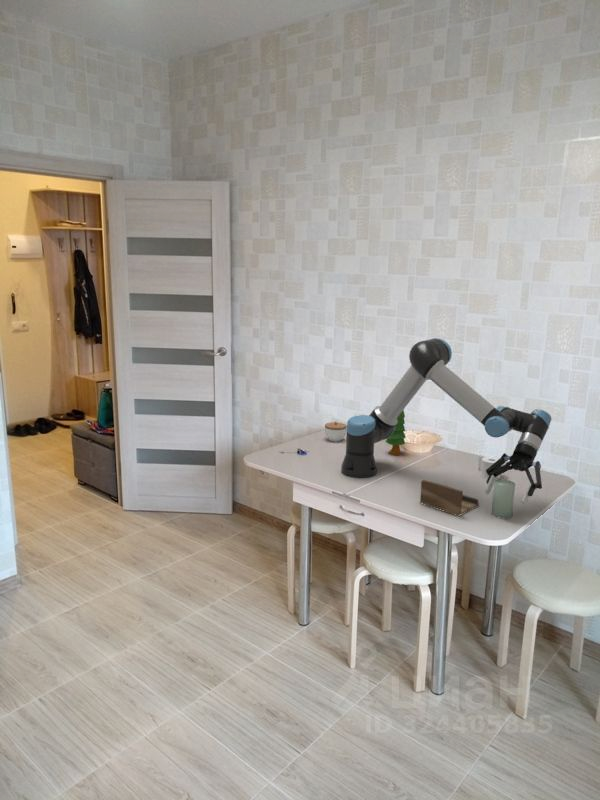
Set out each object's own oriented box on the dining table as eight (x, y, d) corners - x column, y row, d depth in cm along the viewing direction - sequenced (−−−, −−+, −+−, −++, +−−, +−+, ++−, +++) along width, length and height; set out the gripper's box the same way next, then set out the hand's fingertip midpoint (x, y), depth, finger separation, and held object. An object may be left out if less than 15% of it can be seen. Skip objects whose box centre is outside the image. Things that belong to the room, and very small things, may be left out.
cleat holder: (440, 494, 236) (442, 471, 234) (478, 505, 225) (480, 482, 223) (420, 503, 226) (421, 480, 224) (458, 516, 215) (460, 491, 213)
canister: (496, 519, 213) (499, 486, 211) (488, 511, 220) (491, 479, 217) (515, 518, 214) (518, 486, 211) (506, 510, 221) (509, 479, 218)
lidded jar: (346, 443, 301) (347, 424, 299) (325, 442, 301) (325, 424, 299) (344, 437, 312) (345, 419, 310) (323, 436, 311) (324, 418, 309)
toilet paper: (478, 469, 266) (480, 454, 264) (503, 475, 259) (505, 459, 257) (470, 474, 260) (471, 458, 258) (495, 480, 252) (497, 464, 251)
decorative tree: (392, 457, 281) (396, 392, 274) (380, 451, 288) (383, 389, 282) (409, 454, 285) (413, 391, 279) (396, 448, 293) (399, 387, 287)
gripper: (564, 461, 216) (542, 512, 209) (497, 446, 233) (475, 493, 226) (559, 449, 212) (536, 502, 204) (492, 435, 228) (469, 483, 221)
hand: (504, 497), depth 215 cm, fingers open, 13 cm apart
